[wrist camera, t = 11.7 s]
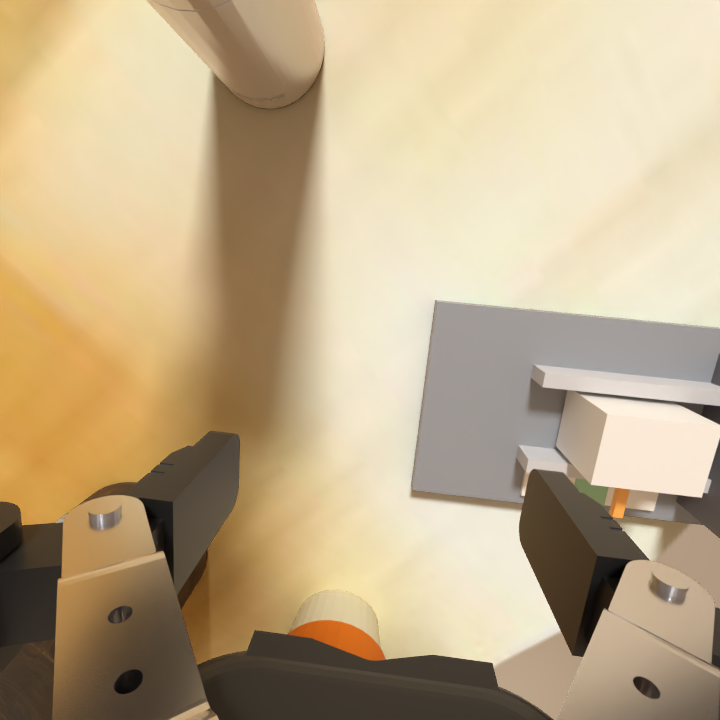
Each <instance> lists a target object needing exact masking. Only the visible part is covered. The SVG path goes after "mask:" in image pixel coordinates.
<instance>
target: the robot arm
mask: <svg viewBox="0 0 720 720" xmlns="http://www.w3.org/2000/svg"><path fill="white" fill-rule="evenodd" d="M147 2H148V3H149V4H150V5H151V6H152V7H153V8H154V9H155V10H156V11H157V12H158V13H159V14H160V15H161V17H162V18H163V19H164V20H165V21H166V22H167V23H168V24H169V25H170V26H171V27H172V28H173V29H174V31H175V32H176V33H177V34H178V35H179V36H180V37H181V38H182V39H183V40H184V41H185V42H186V43H187V44H188V46H189V47H190V48H191V49H192V50H193V51H194V52H195V53H196V54H197V55H198V56H199V57H200V58H201V60H202V61H203V62H204V63H205V64H206V65H207V66H208V67H209V68H210V69H211V70H212V71H213V72H214V73H215V75H216V76H217V77H218V78H219V79H220V80H221V81H222V82H223V83H224V84H225V85H226V86H227V87H228V88H229V89H230V91H231V92H232V93H233V94H234V95H236V96H237V97H238V98H240V99H241V100H242V101H244V102H246V103H248V104H250V105H253V106H255V107H260V108H265V109H267V108H279V107H283V106H286V105H289V104H291V103H292V102H294V101H296V100H298V99H299V98H300V97H301V96H303V95H304V94H305V93H306V92H307V91H308V90H309V88H310V87H311V86H312V84H313V83H314V81H315V80H316V78H317V75H318V73H319V71H320V69H321V65H322V61H323V56H324V35H323V28H322V25H321V21H320V18H319V14H318V11H317V7H316V4H315V0H147ZM239 459H240V439H239V436H238V434H233V433H224V432H215V431H210V432H208V433H207V434H206V435H205V436H204V437H203V438H202V439H201V440H200V441H199V442H198V443H197V444H195V445H194V446H187V447H185V448H182V449H180V450H178V451H175V452H173V453H171V454H170V455H169V456H168V457H166V458H165V459H164V460H163V461H162V462H161V463H160V465H157V466H156V467H155V468H154V469H153V470H151V473H148V474H147V475H146V476H144V477H143V478H142V479H141V480H140V481H139V482H138V483H136V484H135V485H134V486H133V487H132V488H131V489H129V490H128V491H127V492H126V493H125V494H124V495H112V496H105V497H100V498H96V499H93V500H90V501H87V502H85V503H82V504H80V505H78V506H77V507H75V508H74V509H72V510H71V511H70V512H69V513H68V514H67V515H66V516H65V518H64V521H63V522H61V523H49V524H36V525H22V522H21V512H20V508H19V507H18V506H17V505H15V504H12V503H9V502H0V673H1V672H2V671H3V670H4V669H5V668H6V667H7V665H8V664H9V663H10V662H11V661H12V660H13V659H14V657H15V656H16V655H17V654H18V653H19V652H20V651H21V650H22V648H23V647H24V646H25V645H26V643H33V642H40V641H47V640H54V639H55V662H54V687H53V712H52V720H553V719H552V718H551V717H550V716H548V715H547V714H546V713H544V712H543V711H542V710H540V709H539V708H538V707H536V706H535V705H533V704H531V703H530V702H528V701H527V700H525V699H523V698H522V697H520V696H518V695H516V694H514V693H512V692H510V691H508V690H506V689H503V688H501V687H498V684H497V680H496V676H495V672H494V668H493V664H492V663H488V662H480V661H473V660H466V659H459V658H452V657H444V656H437V655H427V656H417V657H408V658H398V659H388V660H379V661H372V660H367V659H364V658H361V657H359V656H356V655H354V654H351V653H349V652H346V651H344V650H341V649H338V648H336V647H333V646H331V645H328V644H326V643H323V642H320V641H318V640H315V639H313V638H307V637H299V636H292V635H285V634H278V633H270V632H263V631H256V630H255V631H254V634H253V637H252V639H251V642H250V645H249V647H248V650H247V651H243V652H236V653H232V654H227V655H223V656H220V657H217V658H214V659H211V660H208V661H206V662H204V663H201V664H199V665H197V664H196V660H195V657H194V653H193V650H192V647H191V643H190V640H189V636H188V633H187V629H186V626H185V622H184V619H183V616H182V612H181V609H180V605H179V602H178V598H177V594H178V593H179V591H180V590H181V588H182V587H183V585H184V583H185V582H186V580H187V579H188V577H189V576H190V574H191V573H192V571H193V570H194V568H195V566H196V565H197V563H198V562H199V560H200V559H201V557H202V556H203V554H204V553H205V551H206V549H207V548H208V546H209V545H210V543H211V542H212V540H213V539H214V537H215V535H216V534H217V532H218V531H219V529H220V528H221V526H222V525H223V523H224V522H225V520H226V518H227V517H228V515H229V514H230V512H231V511H232V509H233V507H234V505H235V502H236V499H237V494H238V488H239ZM519 535H520V541H521V545H522V547H523V550H524V552H525V554H526V556H527V558H528V560H529V563H530V565H531V567H532V569H533V571H534V573H535V576H536V578H537V580H538V582H539V584H540V586H541V589H542V591H543V593H544V595H545V597H546V599H547V601H548V604H549V606H550V608H551V610H552V612H553V614H554V617H555V619H556V621H557V623H558V625H559V627H560V630H561V632H562V634H563V636H564V638H565V640H566V643H567V645H568V647H569V649H570V651H571V653H572V655H574V656H581V657H583V659H582V662H581V664H580V666H579V669H578V671H577V673H576V675H575V678H574V681H573V683H572V685H571V687H570V690H569V692H568V694H567V697H566V699H565V701H564V704H563V706H562V708H561V711H560V714H559V716H558V718H557V720H720V609H719V608H716V607H715V602H714V600H713V598H712V597H711V595H710V594H709V593H708V591H707V590H706V589H705V588H704V587H703V586H701V585H700V584H699V583H698V582H696V581H695V580H694V579H692V578H691V577H689V576H688V575H686V574H684V573H682V572H680V571H678V570H676V569H674V568H672V567H669V566H667V565H664V564H661V563H658V562H654V561H650V560H649V559H648V558H647V557H646V556H645V554H644V553H643V552H642V551H641V550H640V549H639V547H638V546H637V545H636V544H635V543H634V542H633V541H632V539H631V538H630V537H629V536H628V535H627V534H626V533H625V532H624V531H622V528H621V527H620V526H619V524H618V523H617V522H616V521H615V520H613V518H612V516H611V515H610V514H609V513H608V512H607V511H606V510H605V508H604V507H603V506H602V505H601V504H599V503H598V502H596V501H595V500H593V499H592V498H590V497H589V496H587V495H586V494H585V493H580V492H579V490H578V489H577V488H576V487H575V486H574V484H573V483H572V482H571V481H570V480H569V478H568V477H567V476H566V475H565V474H564V473H563V472H557V471H548V470H540V469H533V470H531V472H530V474H529V477H528V482H527V487H526V492H525V497H524V502H523V507H522V512H521V517H520V523H519Z"/></svg>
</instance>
